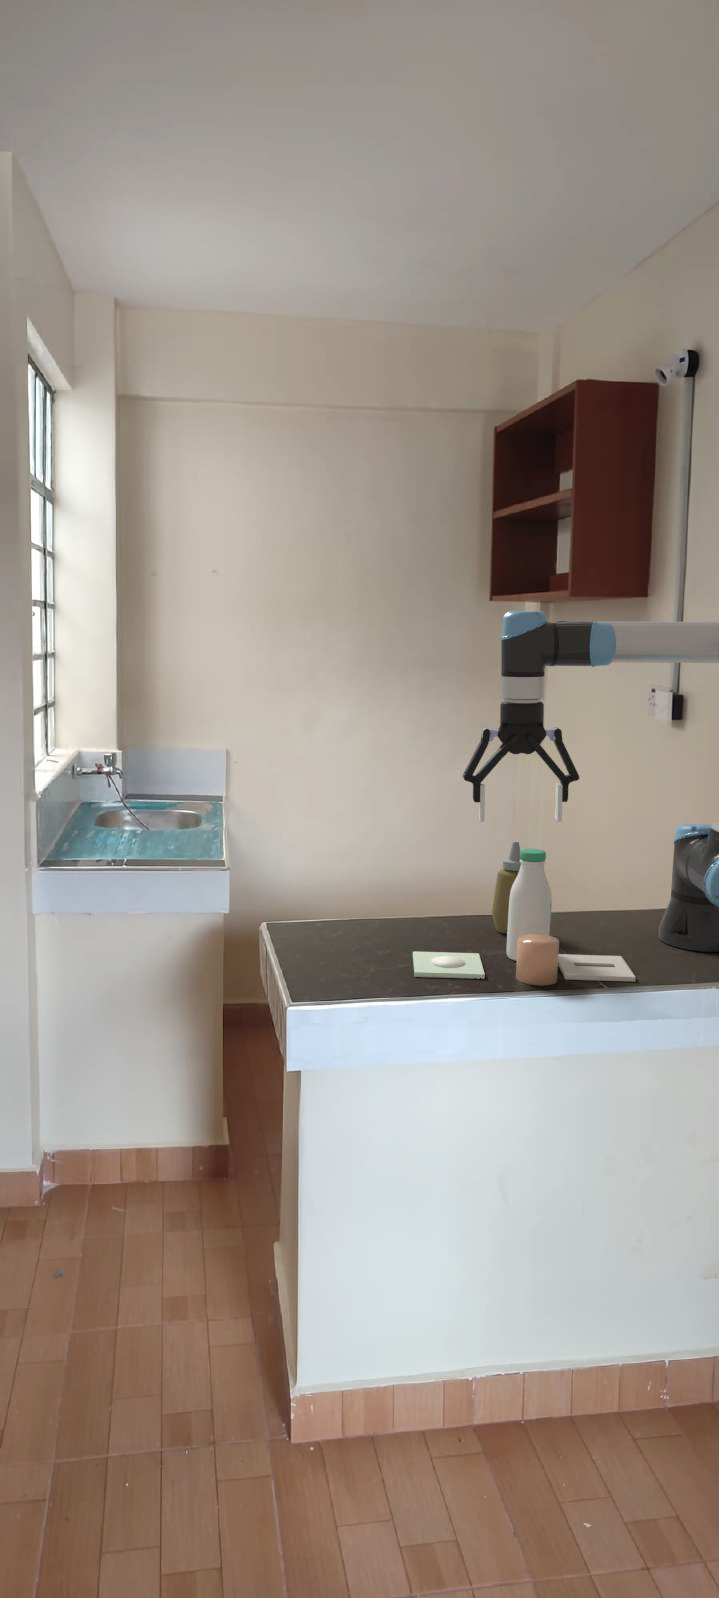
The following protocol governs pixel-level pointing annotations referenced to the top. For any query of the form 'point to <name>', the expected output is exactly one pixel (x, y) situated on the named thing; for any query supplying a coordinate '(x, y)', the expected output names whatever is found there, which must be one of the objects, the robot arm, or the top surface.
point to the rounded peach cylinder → (537, 959)
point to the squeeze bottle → (505, 888)
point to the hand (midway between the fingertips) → (519, 820)
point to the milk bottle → (529, 900)
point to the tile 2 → (594, 968)
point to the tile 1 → (448, 965)
